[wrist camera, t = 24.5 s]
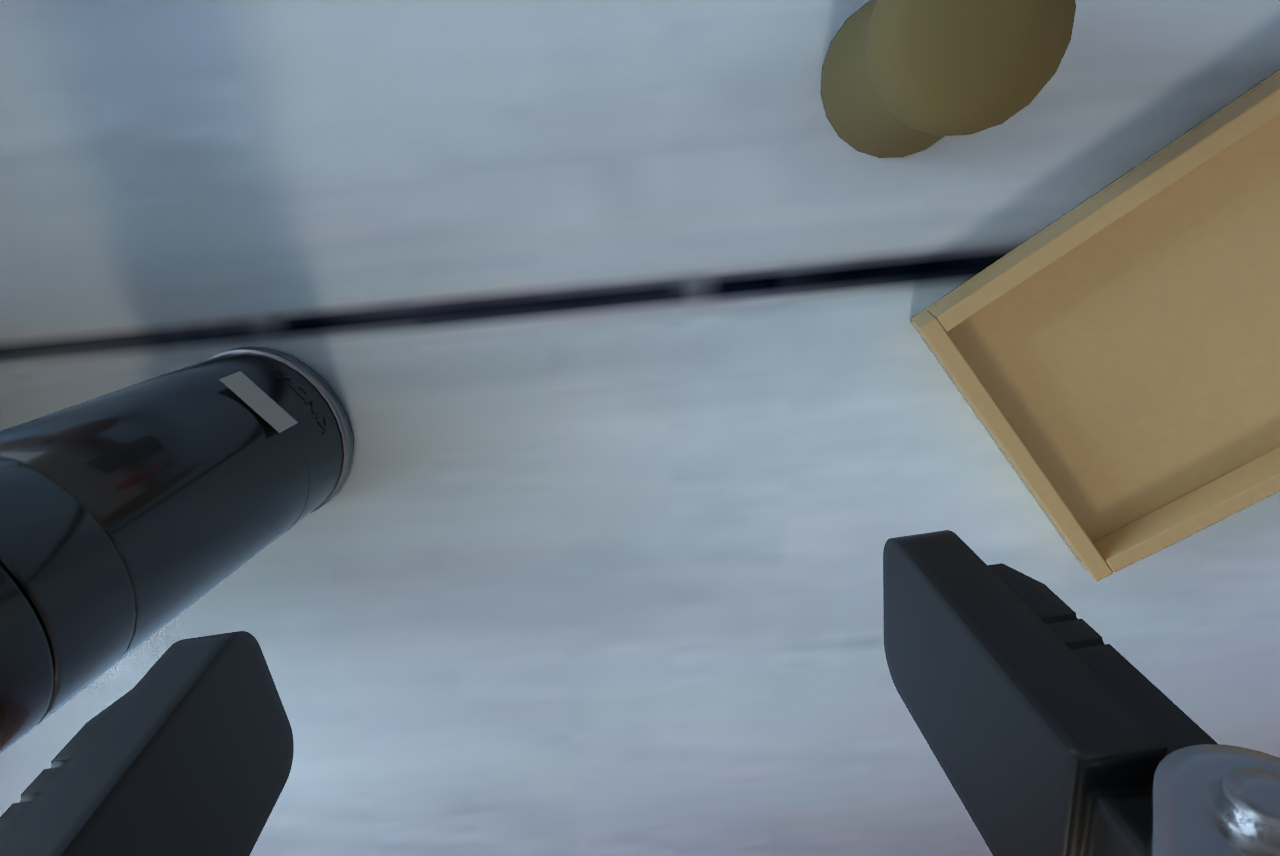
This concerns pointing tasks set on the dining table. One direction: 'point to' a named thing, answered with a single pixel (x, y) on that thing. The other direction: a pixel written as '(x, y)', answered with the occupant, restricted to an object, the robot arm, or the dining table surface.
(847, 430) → the dining table surface
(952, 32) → the olive green rounded piece
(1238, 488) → the light wooden flat tray
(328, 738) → the dining table surface
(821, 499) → the dining table surface
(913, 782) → the dining table surface
